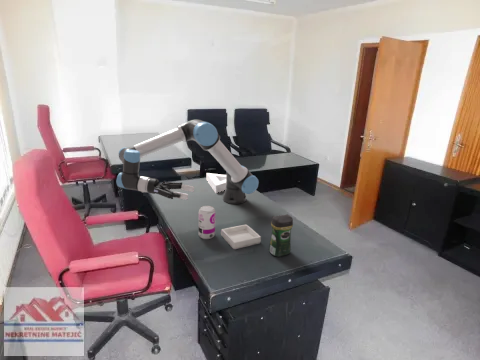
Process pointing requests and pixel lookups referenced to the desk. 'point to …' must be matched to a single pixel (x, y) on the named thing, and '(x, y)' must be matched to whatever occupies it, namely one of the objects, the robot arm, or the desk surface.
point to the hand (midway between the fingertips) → (191, 193)
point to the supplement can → (206, 222)
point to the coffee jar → (281, 235)
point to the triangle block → (216, 181)
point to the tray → (240, 236)
